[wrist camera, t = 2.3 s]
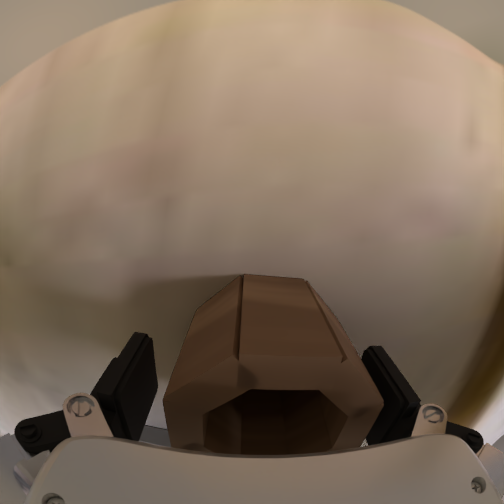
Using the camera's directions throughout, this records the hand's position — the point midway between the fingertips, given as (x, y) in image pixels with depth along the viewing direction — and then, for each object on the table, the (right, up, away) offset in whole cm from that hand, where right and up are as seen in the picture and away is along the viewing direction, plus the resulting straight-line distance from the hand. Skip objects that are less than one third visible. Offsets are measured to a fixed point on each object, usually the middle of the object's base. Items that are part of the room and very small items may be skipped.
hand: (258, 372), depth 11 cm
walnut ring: (0, +1, +2) cm, 2 cm away
